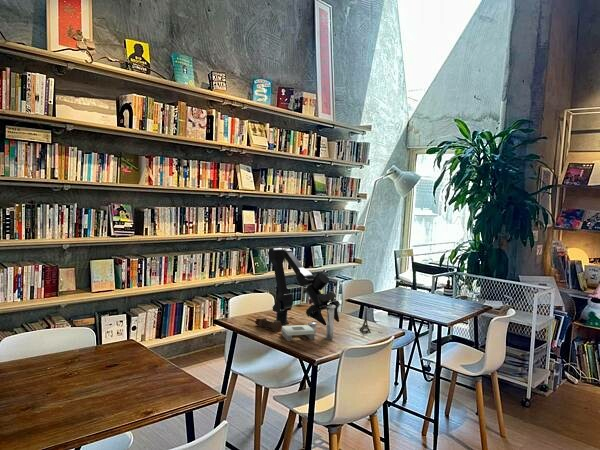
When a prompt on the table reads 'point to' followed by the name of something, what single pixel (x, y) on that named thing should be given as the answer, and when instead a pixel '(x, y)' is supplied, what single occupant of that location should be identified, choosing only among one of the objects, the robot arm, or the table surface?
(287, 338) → the square washer plate
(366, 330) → the eiffel tower figurine
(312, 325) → the short stub
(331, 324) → the long pin
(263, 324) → the bolt
